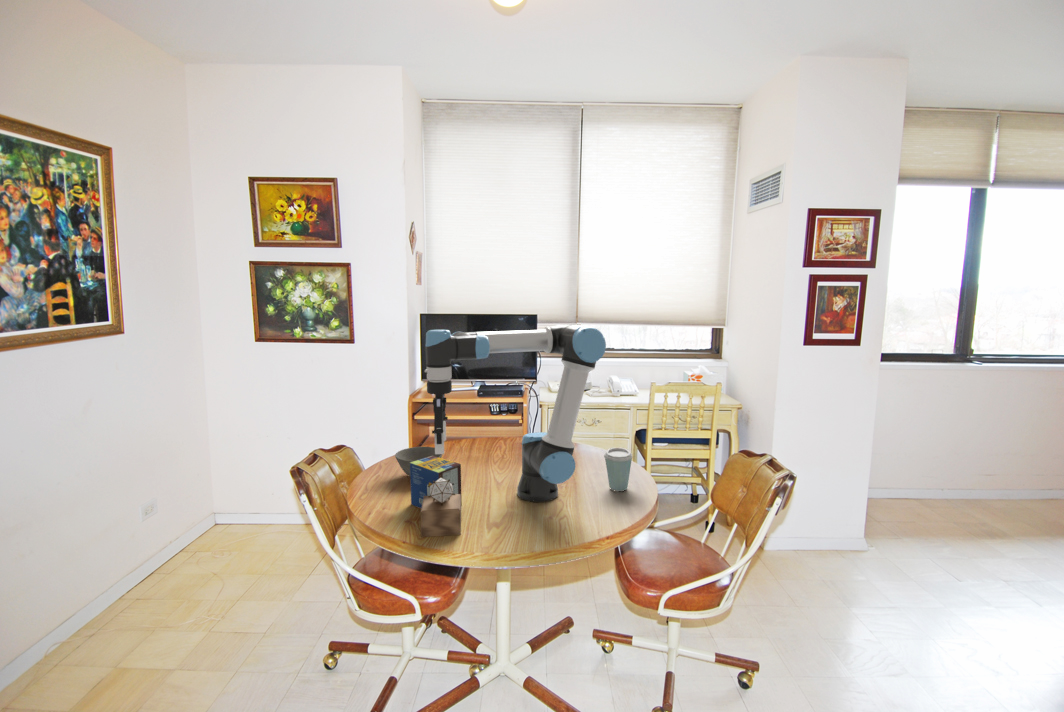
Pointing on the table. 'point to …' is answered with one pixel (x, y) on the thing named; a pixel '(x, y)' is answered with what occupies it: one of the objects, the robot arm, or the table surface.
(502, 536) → the table surface
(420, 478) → the protein box
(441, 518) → the walnut block
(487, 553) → the table surface
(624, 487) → the disposable coffee cup
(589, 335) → the robot arm
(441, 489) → the game die
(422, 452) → the bowl
